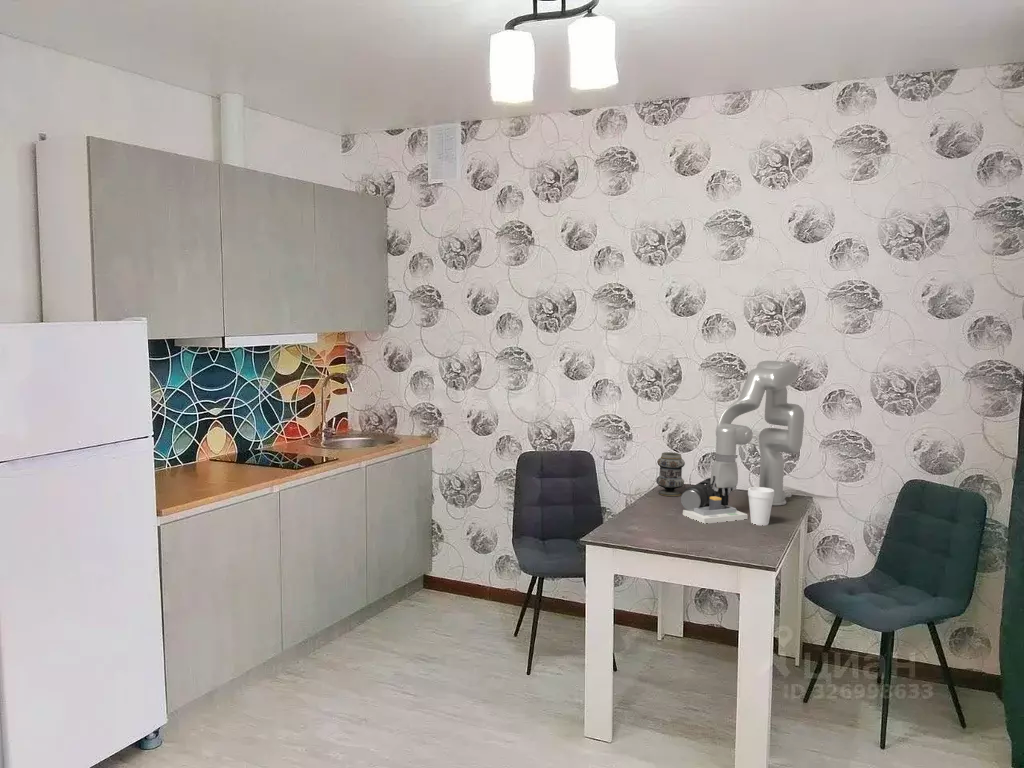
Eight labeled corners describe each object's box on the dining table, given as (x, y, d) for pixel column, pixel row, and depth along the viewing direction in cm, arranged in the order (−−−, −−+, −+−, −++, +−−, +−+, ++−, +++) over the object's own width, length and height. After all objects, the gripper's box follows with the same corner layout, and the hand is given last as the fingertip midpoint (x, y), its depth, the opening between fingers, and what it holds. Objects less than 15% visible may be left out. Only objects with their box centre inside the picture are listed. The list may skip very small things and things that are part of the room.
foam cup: (772, 521, 307) (773, 487, 306) (773, 527, 298) (774, 493, 297) (746, 519, 309) (747, 486, 308) (746, 525, 300) (748, 491, 299)
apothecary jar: (686, 497, 346) (688, 456, 344) (658, 497, 345) (660, 455, 344) (680, 491, 358) (681, 451, 356) (653, 490, 357) (654, 451, 356)
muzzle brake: (723, 502, 334) (724, 477, 334) (702, 516, 311) (702, 489, 310) (701, 499, 339) (701, 475, 339) (678, 513, 316) (678, 487, 315)
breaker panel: (724, 511, 322) (725, 502, 322) (747, 519, 309) (747, 510, 309) (682, 515, 314) (683, 506, 314) (704, 523, 301) (704, 514, 301)
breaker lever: (715, 510, 314) (716, 496, 313) (720, 512, 311) (721, 497, 310) (709, 511, 313) (709, 496, 312) (714, 513, 309) (715, 498, 309)
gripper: (735, 455, 318) (733, 501, 319) (703, 457, 312) (702, 504, 313) (747, 459, 311) (745, 505, 312) (715, 461, 305) (713, 508, 306)
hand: (723, 504), depth 313 cm, fingers closed
